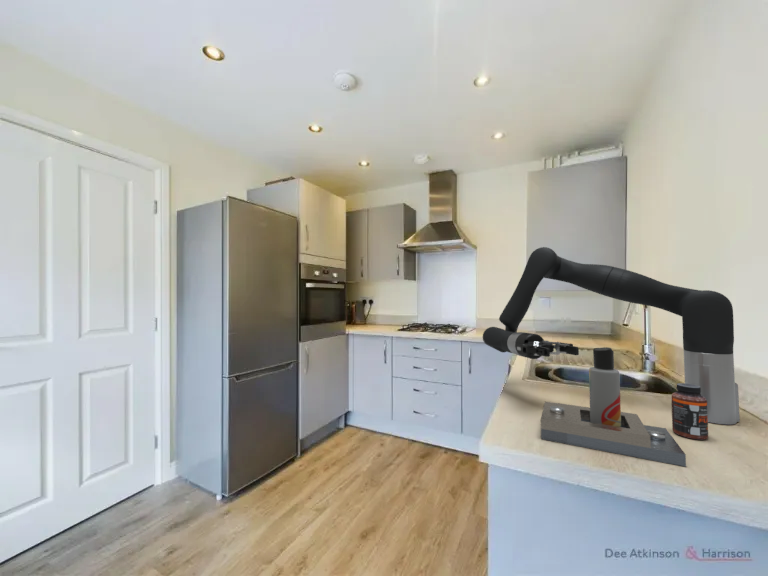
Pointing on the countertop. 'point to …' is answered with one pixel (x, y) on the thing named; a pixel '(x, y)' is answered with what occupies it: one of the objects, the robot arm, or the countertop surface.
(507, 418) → the countertop surface
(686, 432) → the supplement bottle
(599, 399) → the lotion bottle
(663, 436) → the bolted steel plate
